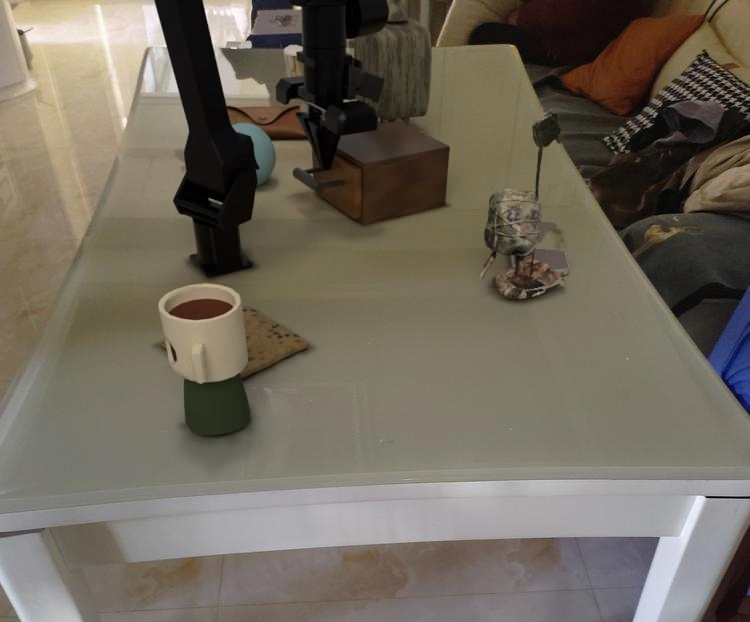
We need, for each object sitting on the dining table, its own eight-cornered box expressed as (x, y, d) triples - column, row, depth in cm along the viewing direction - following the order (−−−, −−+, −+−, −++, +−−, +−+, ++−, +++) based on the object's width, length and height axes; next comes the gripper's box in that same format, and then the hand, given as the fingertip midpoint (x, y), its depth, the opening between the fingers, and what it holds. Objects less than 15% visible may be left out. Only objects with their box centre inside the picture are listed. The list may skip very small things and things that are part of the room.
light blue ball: (197, 119, 117) (273, 115, 116) (209, 177, 123) (281, 174, 122) (187, 134, 112) (266, 130, 111) (200, 194, 118) (275, 191, 117)
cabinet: (363, 225, 109) (363, 163, 103) (318, 194, 117) (316, 135, 111) (445, 205, 114) (450, 146, 108) (396, 177, 123) (398, 120, 117)
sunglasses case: (214, 139, 133) (210, 98, 132) (217, 149, 140) (214, 110, 139) (315, 137, 135) (312, 97, 134) (314, 147, 142) (311, 109, 140)
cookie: (158, 345, 84) (156, 337, 83) (245, 308, 90) (244, 301, 89) (222, 389, 77) (220, 382, 77) (310, 347, 84) (310, 339, 83)
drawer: (325, 226, 106) (324, 176, 101) (285, 196, 114) (282, 149, 109) (431, 201, 113) (434, 154, 109) (387, 175, 121) (388, 130, 116)
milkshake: (279, 94, 156) (275, 39, 150) (303, 91, 158) (300, 37, 151) (286, 100, 153) (283, 44, 147) (311, 97, 155) (308, 42, 148)
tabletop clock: (427, 143, 135) (437, -24, 118) (380, 149, 133) (383, -21, 116) (396, 120, 145) (401, -38, 128) (352, 124, 142) (351, -36, 125)
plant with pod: (469, 274, 98) (478, 108, 84) (554, 266, 98) (577, 101, 84) (482, 305, 92) (494, 133, 78) (572, 297, 93) (600, 125, 79)
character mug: (190, 391, 77) (168, 273, 69) (259, 390, 78) (246, 272, 69) (174, 458, 69) (147, 334, 61) (251, 457, 70) (235, 333, 61)
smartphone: (513, 267, 97) (505, 219, 108) (512, 274, 98) (505, 225, 109) (570, 270, 97) (557, 221, 108) (569, 276, 98) (556, 227, 108)
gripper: (415, 54, 95) (408, 181, 105) (342, 26, 106) (341, 143, 117) (339, 62, 90) (339, 194, 101) (270, 32, 102) (277, 153, 112)
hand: (325, 169), depth 108 cm, fingers closed
